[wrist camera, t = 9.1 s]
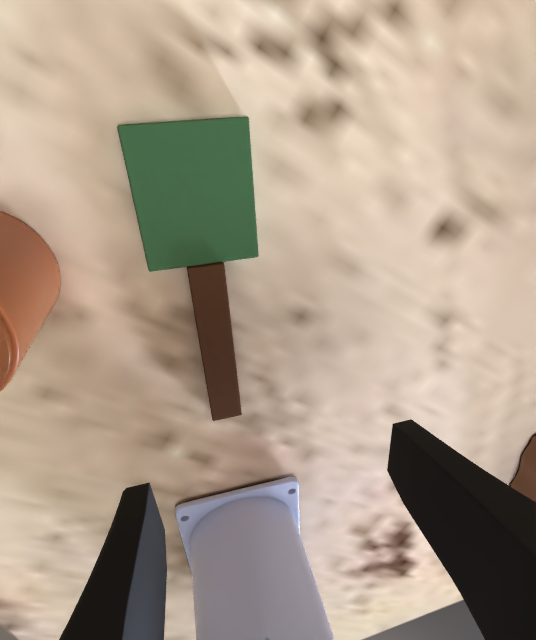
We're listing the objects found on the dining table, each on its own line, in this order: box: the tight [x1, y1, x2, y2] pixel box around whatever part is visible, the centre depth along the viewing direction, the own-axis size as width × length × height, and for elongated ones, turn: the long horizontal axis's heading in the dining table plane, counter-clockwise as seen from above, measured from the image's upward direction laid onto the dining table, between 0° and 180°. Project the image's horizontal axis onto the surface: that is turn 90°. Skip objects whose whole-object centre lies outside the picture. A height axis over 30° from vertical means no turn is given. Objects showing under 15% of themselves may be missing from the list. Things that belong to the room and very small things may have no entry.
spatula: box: [117, 117, 258, 421], centre depth 18 cm, size 14×5×1 cm, turn 3°
